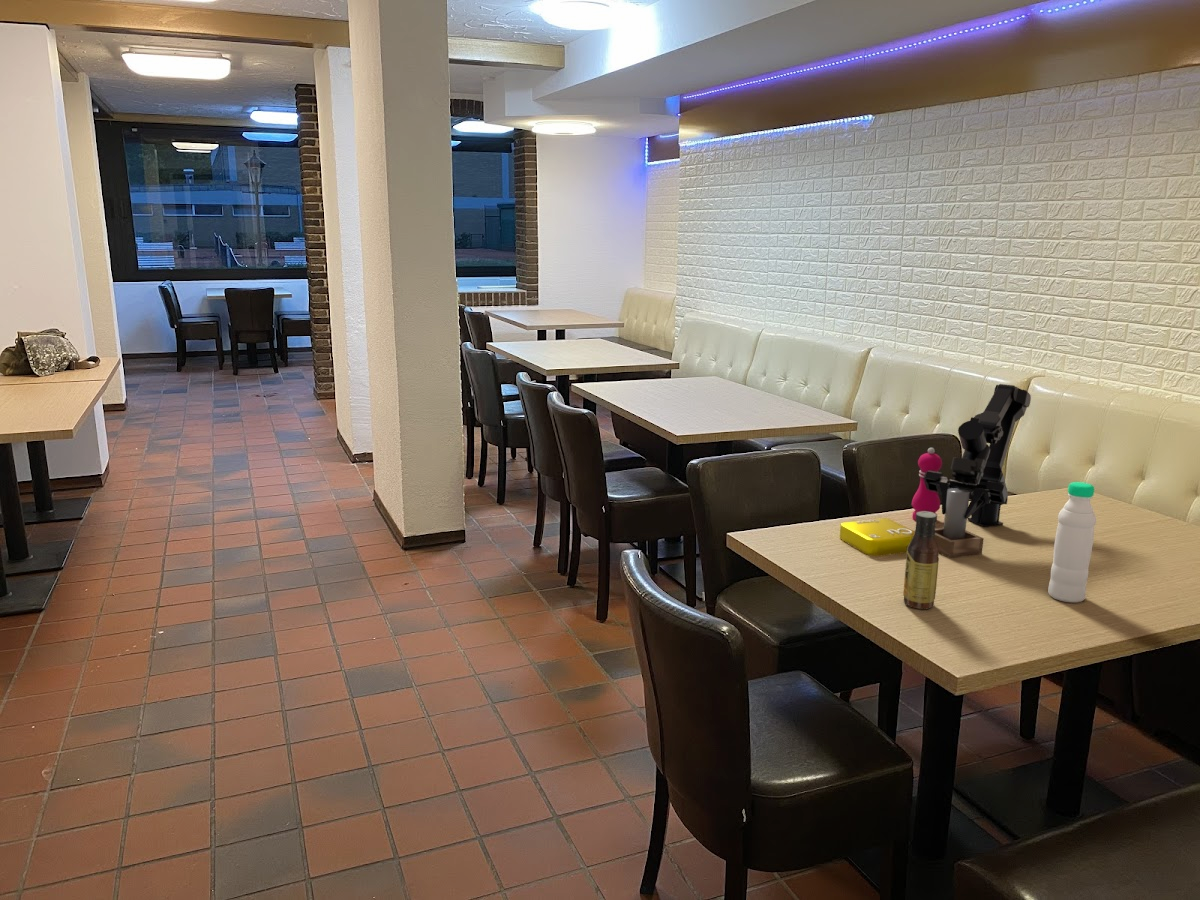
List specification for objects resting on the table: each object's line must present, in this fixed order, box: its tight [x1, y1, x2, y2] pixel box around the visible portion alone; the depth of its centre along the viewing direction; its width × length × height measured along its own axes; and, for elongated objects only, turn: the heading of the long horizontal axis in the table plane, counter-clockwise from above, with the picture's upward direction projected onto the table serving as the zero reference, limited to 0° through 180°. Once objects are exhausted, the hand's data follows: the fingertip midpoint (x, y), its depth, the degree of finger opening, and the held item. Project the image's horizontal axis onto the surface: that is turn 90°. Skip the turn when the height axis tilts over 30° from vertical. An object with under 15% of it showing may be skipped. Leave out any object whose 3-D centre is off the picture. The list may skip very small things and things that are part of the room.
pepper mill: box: [911, 447, 943, 522], centre depth 240 cm, size 7×7×20 cm
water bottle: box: [1047, 481, 1097, 604], centre depth 188 cm, size 7×7×25 cm
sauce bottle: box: [902, 511, 940, 610], centre depth 184 cm, size 7×6×20 cm
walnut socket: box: [934, 527, 984, 559], centre depth 219 cm, size 10×10×4 cm
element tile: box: [839, 518, 915, 557], centre depth 223 cm, size 15×15×5 cm
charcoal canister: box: [942, 488, 970, 540], centre depth 218 cm, size 5×5×12 cm
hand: (954, 515), depth 217 cm, fingers closed on charcoal canister, 5 cm apart
